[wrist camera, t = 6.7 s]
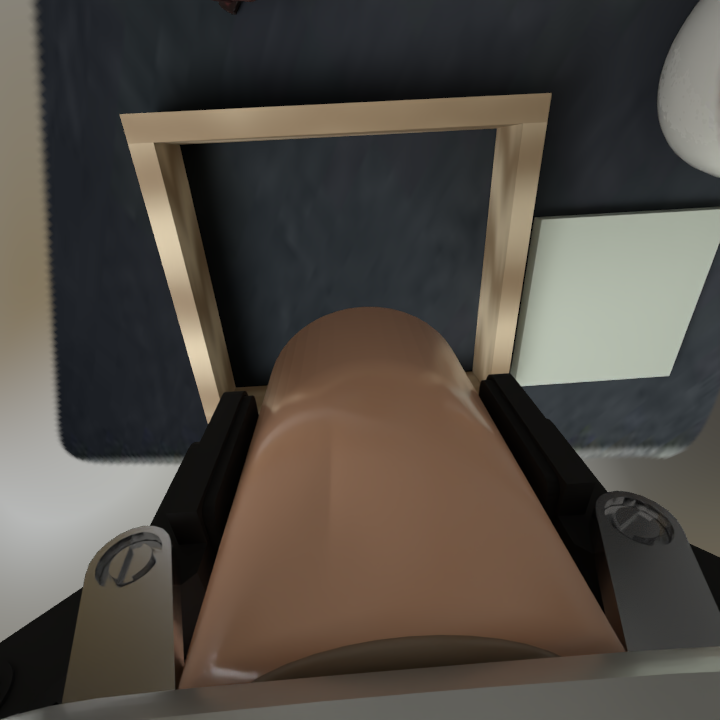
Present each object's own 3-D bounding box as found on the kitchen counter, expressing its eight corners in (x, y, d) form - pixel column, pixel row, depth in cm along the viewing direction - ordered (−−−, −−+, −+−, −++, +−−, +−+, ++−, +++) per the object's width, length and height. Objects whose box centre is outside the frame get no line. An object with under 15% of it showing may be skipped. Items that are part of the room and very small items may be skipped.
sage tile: (534, 217, 25) (541, 219, 24) (718, 206, 25) (732, 208, 24) (509, 379, 30) (514, 386, 29) (659, 369, 30) (669, 375, 30)
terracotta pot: (253, 313, 11) (80, 645, 3) (469, 300, 11) (730, 594, 4) (283, 474, 13) (222, 837, 6) (454, 462, 14) (583, 804, 6)
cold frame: (151, 120, 21) (119, 114, 18) (520, 102, 22) (551, 92, 18) (223, 402, 30) (209, 430, 27) (486, 383, 30) (503, 409, 27)
